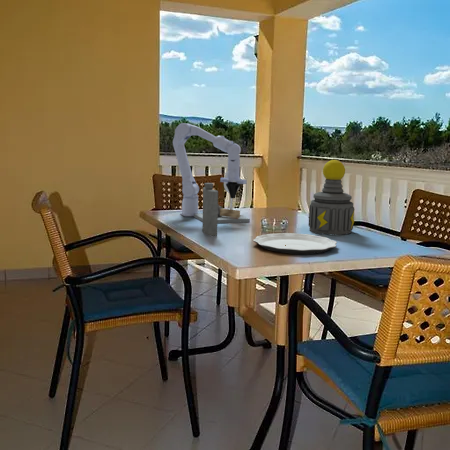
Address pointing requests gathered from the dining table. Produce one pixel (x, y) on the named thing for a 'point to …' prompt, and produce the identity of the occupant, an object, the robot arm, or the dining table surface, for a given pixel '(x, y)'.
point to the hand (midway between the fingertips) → (232, 198)
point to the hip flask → (210, 210)
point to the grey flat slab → (224, 219)
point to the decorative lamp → (332, 204)
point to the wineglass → (228, 190)
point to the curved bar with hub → (228, 212)
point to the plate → (295, 243)
